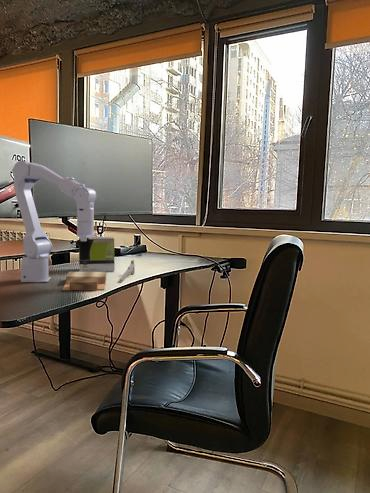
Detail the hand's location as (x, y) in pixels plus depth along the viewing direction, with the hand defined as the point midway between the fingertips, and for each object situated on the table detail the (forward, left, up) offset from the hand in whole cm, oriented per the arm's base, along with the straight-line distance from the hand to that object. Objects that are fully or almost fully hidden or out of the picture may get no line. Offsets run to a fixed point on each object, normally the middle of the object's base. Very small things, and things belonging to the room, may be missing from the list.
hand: (85, 259), depth 142 cm
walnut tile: (0, -6, -8) cm, 10 cm away
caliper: (+15, +14, -10) cm, 23 cm away
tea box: (+2, +32, -10) cm, 33 cm away
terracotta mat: (0, -4, -9) cm, 10 cm away
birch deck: (0, +6, -9) cm, 11 cm away
